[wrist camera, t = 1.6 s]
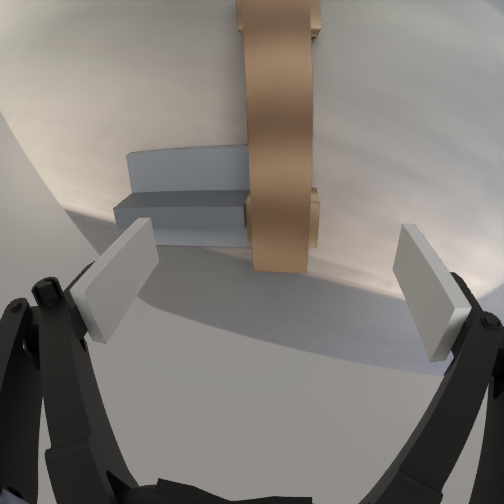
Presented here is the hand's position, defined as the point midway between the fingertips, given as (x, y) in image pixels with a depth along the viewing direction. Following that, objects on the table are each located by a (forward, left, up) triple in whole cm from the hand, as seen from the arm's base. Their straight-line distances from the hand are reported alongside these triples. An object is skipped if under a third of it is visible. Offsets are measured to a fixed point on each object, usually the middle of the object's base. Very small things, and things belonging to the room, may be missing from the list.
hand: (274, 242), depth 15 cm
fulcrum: (+3, -9, -14) cm, 17 cm away
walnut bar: (-5, 0, -10) cm, 11 cm away
